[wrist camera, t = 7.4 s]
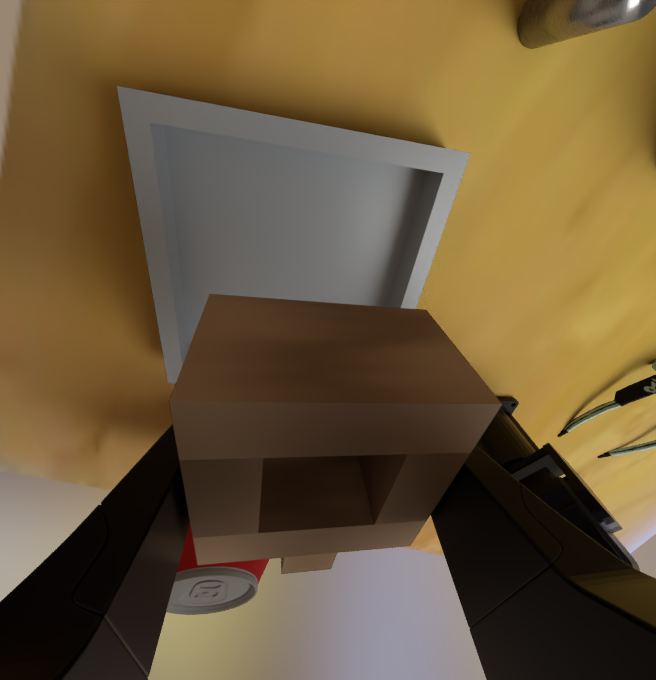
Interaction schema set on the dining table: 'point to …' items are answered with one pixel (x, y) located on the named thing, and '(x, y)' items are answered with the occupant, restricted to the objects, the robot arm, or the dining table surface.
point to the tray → (278, 210)
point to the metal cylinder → (575, 18)
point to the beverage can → (212, 583)
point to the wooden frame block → (319, 428)
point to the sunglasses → (621, 398)
